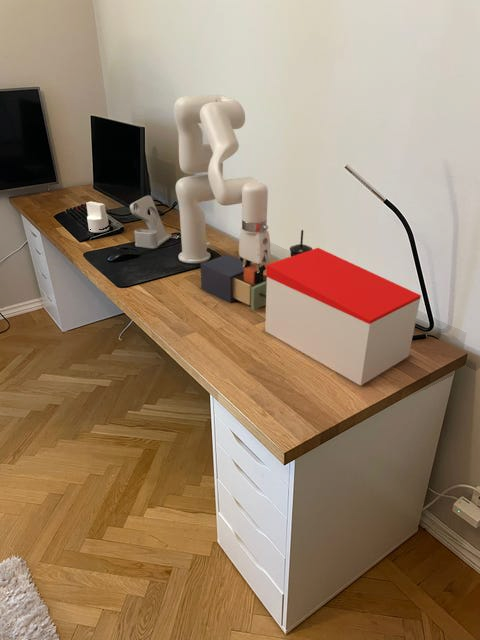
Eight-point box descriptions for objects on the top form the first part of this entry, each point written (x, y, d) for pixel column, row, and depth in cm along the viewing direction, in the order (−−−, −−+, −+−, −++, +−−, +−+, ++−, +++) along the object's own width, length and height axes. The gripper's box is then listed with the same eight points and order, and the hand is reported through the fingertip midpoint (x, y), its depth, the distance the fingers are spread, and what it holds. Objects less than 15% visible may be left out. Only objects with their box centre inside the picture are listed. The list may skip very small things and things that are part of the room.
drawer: (291, 304, 156) (292, 283, 152) (266, 316, 149) (267, 294, 145) (249, 285, 168) (249, 265, 164) (224, 296, 161) (224, 275, 157)
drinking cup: (295, 291, 166) (299, 235, 156) (283, 283, 172) (286, 228, 162) (314, 287, 169) (318, 232, 159) (301, 279, 175) (305, 225, 165)
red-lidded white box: (312, 309, 154) (317, 247, 144) (408, 356, 131) (422, 285, 121) (263, 330, 143) (265, 264, 133) (360, 385, 119) (371, 310, 109)
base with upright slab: (113, 228, 225) (110, 202, 219) (99, 233, 218) (95, 207, 212) (99, 225, 229) (95, 199, 223) (84, 230, 222) (80, 204, 216)
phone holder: (154, 249, 202) (150, 206, 193) (133, 246, 204) (128, 203, 196) (172, 235, 216) (169, 195, 207) (152, 233, 219) (148, 193, 210)
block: (243, 280, 157) (243, 268, 154) (253, 276, 159) (253, 264, 157) (253, 284, 154) (253, 272, 152) (262, 280, 157) (263, 268, 154)
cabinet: (258, 291, 166) (258, 265, 162) (230, 302, 159) (230, 276, 154) (228, 278, 176) (228, 254, 171) (201, 288, 168) (200, 263, 164)
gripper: (283, 229, 145) (280, 285, 153) (243, 216, 155) (243, 269, 164) (265, 234, 140) (264, 292, 149) (226, 221, 151) (227, 275, 160)
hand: (253, 279), depth 156 cm, fingers closed on block, 4 cm apart
